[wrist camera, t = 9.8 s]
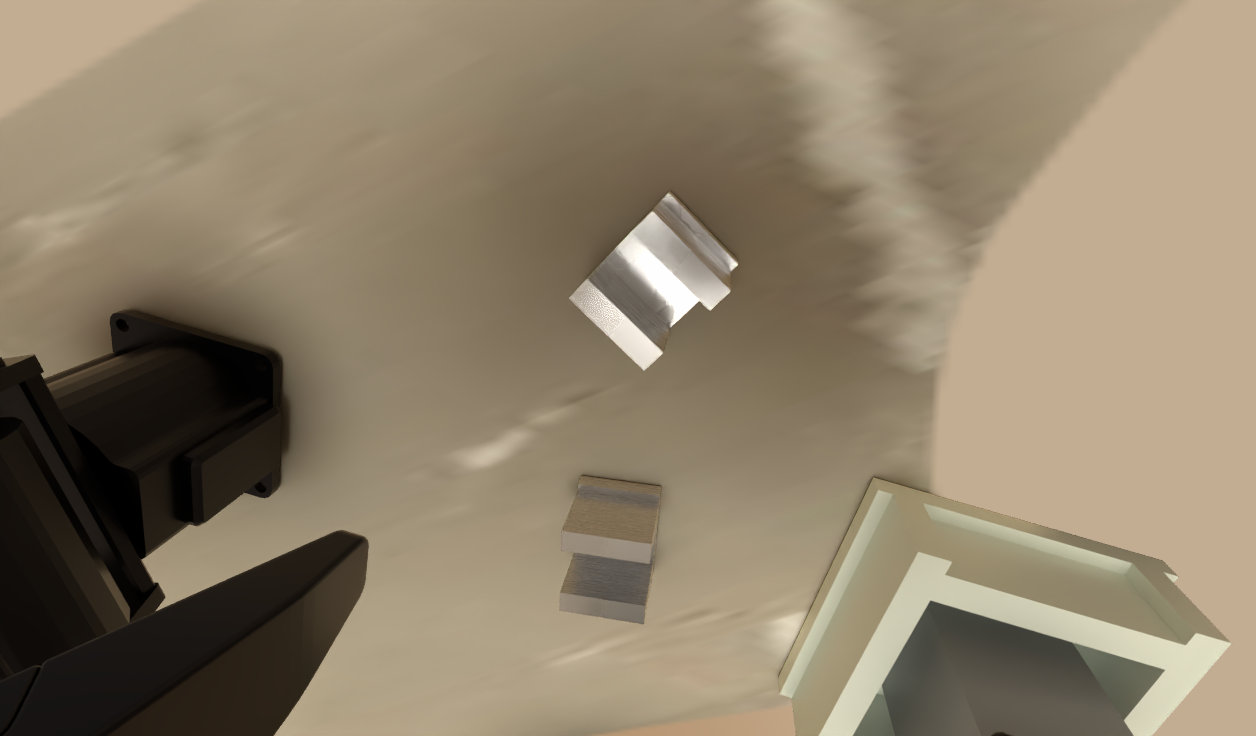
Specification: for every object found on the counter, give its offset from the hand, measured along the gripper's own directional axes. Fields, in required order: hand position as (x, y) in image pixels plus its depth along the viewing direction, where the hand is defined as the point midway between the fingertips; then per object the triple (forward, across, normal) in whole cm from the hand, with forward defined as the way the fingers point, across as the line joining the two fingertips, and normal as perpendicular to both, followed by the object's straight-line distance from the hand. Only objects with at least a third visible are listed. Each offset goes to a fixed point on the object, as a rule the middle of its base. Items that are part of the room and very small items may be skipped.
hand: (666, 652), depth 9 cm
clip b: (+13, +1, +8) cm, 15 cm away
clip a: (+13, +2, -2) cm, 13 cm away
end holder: (+13, -12, +8) cm, 19 cm away
